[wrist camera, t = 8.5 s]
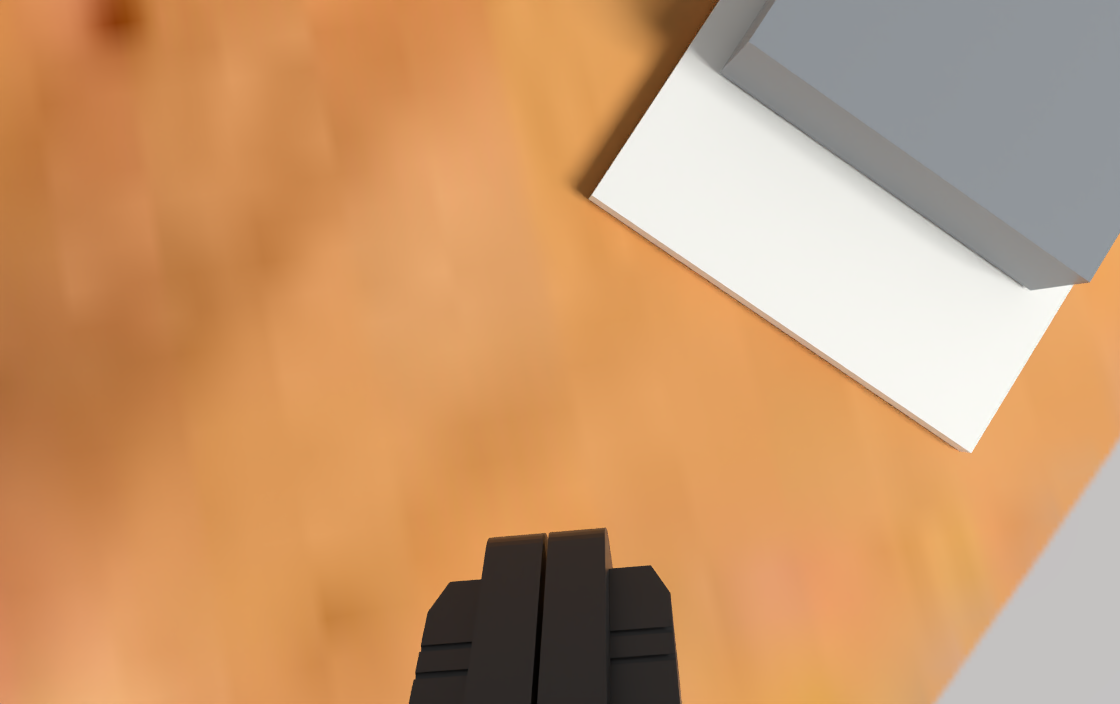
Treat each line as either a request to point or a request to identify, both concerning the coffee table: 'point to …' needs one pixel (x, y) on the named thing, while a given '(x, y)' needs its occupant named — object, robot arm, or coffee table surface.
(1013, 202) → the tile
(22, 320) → the coffee table surface
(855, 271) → the mat
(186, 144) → the coffee table surface
